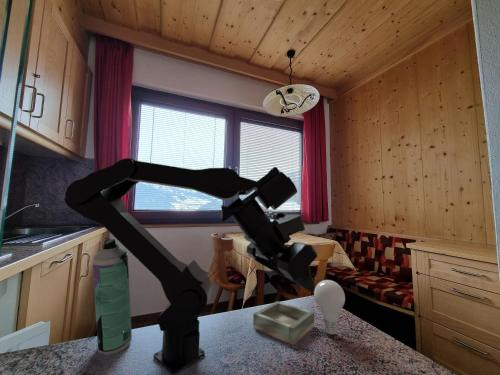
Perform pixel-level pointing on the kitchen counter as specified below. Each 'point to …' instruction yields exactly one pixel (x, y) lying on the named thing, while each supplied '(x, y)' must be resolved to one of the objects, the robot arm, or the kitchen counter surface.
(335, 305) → the lightbulb
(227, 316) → the kitchen counter surface
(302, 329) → the open box
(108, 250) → the spray can
